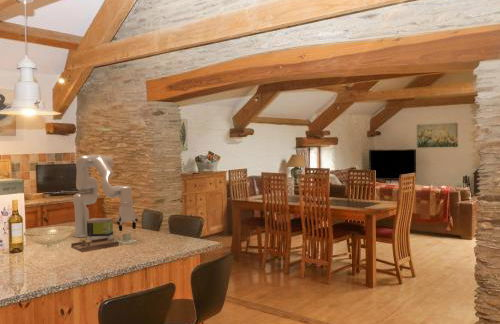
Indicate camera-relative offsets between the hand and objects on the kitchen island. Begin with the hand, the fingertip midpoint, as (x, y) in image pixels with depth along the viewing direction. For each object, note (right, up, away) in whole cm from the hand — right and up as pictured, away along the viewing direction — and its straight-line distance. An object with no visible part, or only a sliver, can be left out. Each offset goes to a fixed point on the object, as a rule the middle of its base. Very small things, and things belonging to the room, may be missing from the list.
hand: (127, 229), depth 309 cm
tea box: (-21, -9, +8) cm, 24 cm away
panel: (-1, -8, 0) cm, 9 cm away
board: (-18, -9, -12) cm, 23 cm away
